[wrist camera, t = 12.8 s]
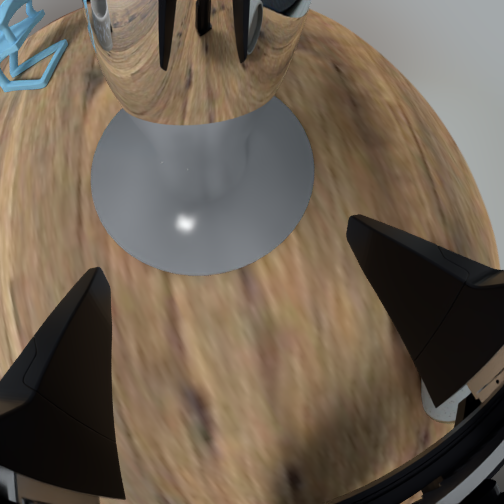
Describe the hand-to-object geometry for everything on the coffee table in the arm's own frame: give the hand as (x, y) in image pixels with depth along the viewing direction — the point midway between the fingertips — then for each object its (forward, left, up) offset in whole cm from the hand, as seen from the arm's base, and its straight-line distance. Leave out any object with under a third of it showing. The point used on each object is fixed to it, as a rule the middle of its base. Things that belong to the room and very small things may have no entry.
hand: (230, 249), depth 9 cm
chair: (+29, -14, -9) cm, 33 cm away
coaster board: (+4, -7, -9) cm, 12 cm away
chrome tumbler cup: (+4, -6, -8) cm, 11 cm away
